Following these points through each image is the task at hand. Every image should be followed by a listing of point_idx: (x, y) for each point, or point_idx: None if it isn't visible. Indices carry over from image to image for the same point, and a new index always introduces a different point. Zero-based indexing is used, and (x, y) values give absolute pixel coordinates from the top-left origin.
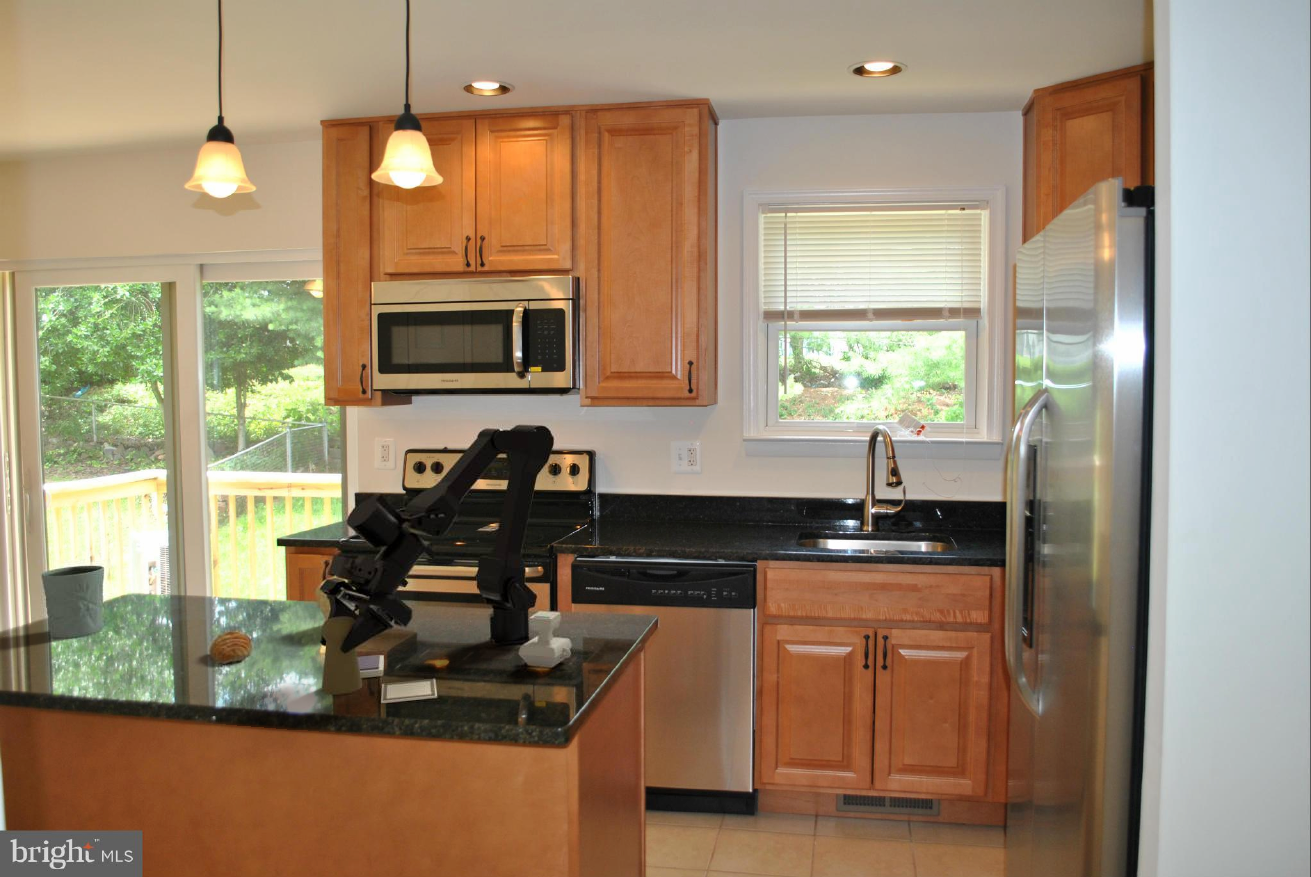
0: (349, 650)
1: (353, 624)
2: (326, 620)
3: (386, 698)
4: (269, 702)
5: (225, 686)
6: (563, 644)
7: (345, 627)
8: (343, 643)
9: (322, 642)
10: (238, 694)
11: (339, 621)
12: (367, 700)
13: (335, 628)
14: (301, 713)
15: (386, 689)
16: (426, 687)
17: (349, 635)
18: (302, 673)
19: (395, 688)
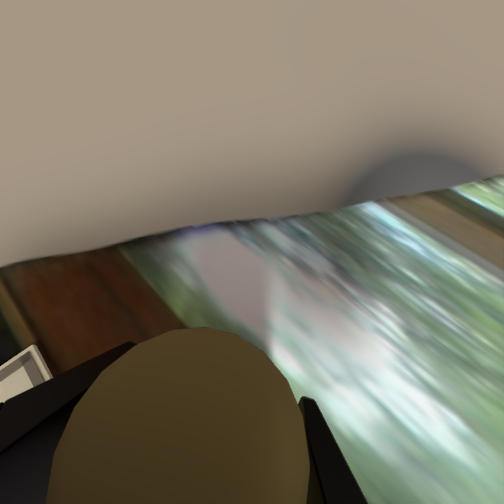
0: None
1: (46, 497)
2: (267, 401)
3: (22, 364)
4: (300, 250)
5: (478, 285)
6: None
7: (80, 399)
8: (116, 357)
9: (300, 403)
10: (402, 260)
11: (121, 401)
12: (87, 349)
13: (138, 346)
14: (188, 230)
15: None
16: None
17: (64, 382)
18: (428, 459)
19: None
